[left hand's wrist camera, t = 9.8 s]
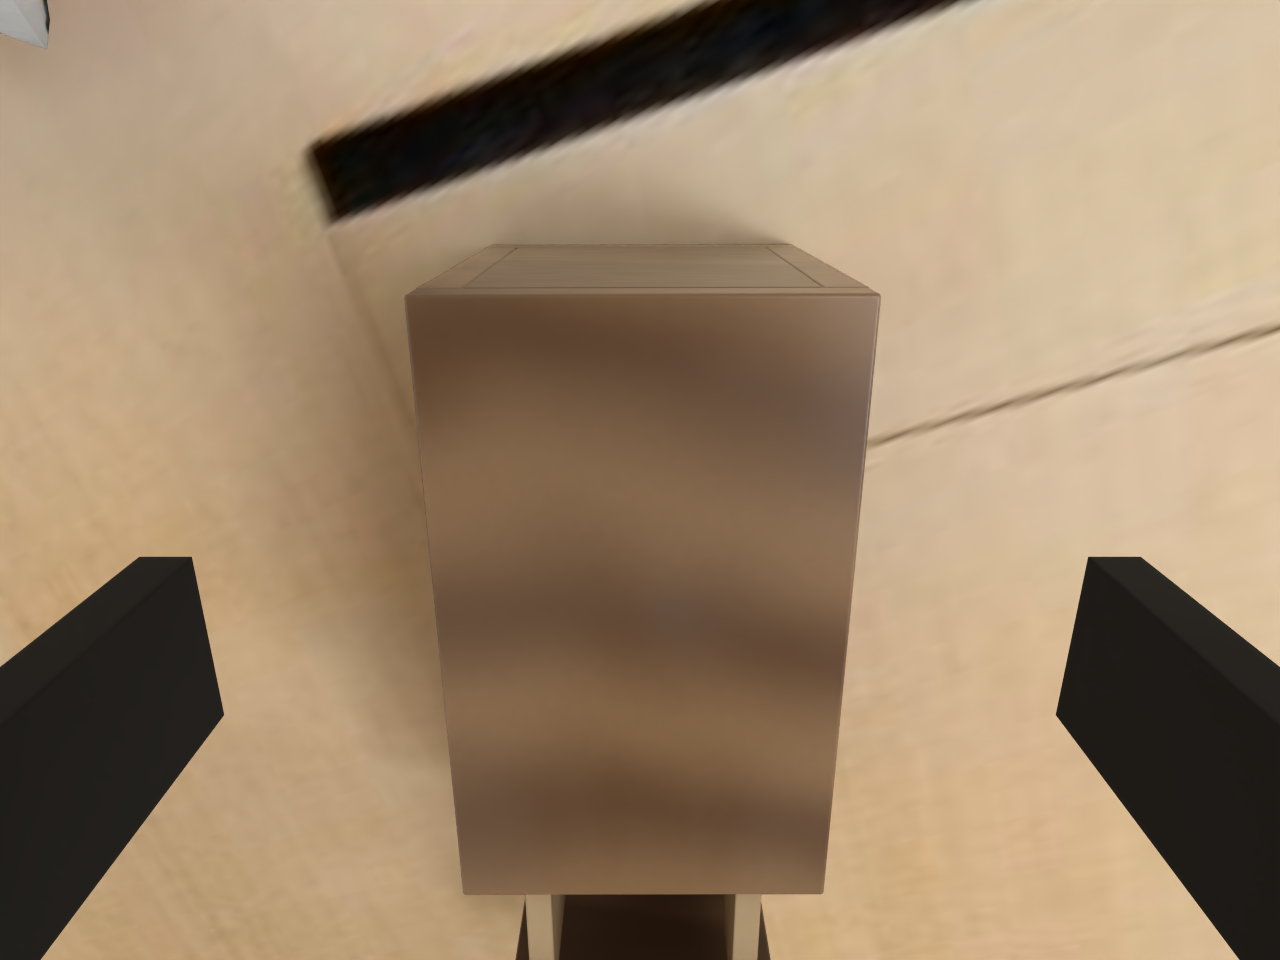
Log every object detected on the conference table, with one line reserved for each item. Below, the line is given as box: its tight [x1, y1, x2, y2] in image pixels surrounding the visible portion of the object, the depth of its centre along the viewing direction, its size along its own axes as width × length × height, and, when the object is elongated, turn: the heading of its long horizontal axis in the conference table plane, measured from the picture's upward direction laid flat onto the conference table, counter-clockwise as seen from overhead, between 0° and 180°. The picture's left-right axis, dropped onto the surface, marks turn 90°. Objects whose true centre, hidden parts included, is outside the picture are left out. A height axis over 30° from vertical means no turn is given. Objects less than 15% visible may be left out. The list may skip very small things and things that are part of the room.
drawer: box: [516, 894, 771, 960], centre depth 30 cm, size 21×9×9 cm, turn 0°
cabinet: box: [404, 244, 881, 895], centre depth 26 cm, size 17×10×11 cm, turn 0°
